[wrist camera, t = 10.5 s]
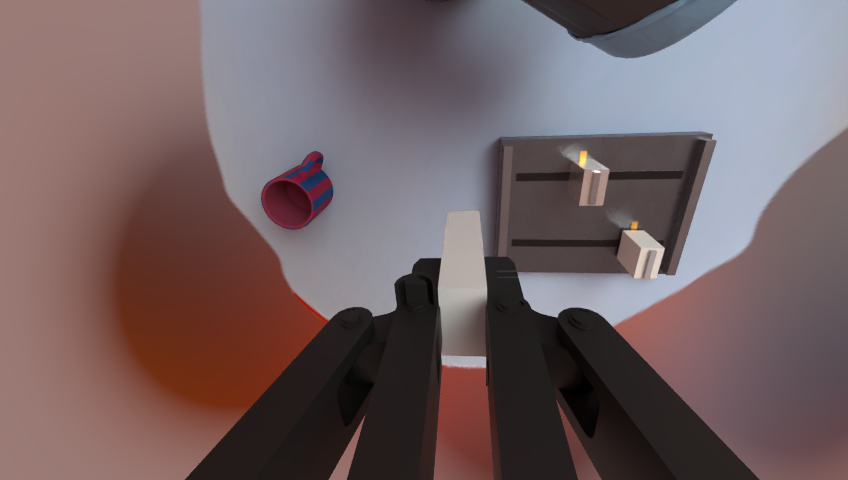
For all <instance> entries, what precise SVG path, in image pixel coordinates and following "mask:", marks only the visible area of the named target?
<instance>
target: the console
mask: <svg viewBox="0 0 848 480" xmlns="http://www.w3.org/2000/svg"><path fill="white" fill-rule="evenodd" d="M712 136H713V134H710V133H706V132H670V133H636V134H601V135H567V136H533V137H500V151H499V171H498V192H497V213H496V233H495V254H494V257H509V258H510V259H511V260H512V261H513V262H514V263H515V266H516V270H517V272H573V273H629V272H628V271H627V270H626V269H625V267H624V266H623V265H622V264H621V263H620V262H619V260H618V259H617V255H618V250H619V246H620V241H621V237H622V232H623V230H644V231H645V232H646V233H648V234H649V235H650V236H651V237H652V238H653V239H655V240H656V241H657V242H658V243H659V244H660V245H662V246H663V247H664V248H665V250H664V253H663V257H662V260H661V264H660V267H659V271H658V274H666V275H675V273H676V270H677V267H678V264H679V260H680V257H681V254H682V251H683V248H684V244H685V241H686V238H687V235H688V231H689V228H690V225H691V222H692V219H693V215H694V212H695V209H696V206H697V203H698V199H699V196H700V193H701V190H702V186H703V183H704V180H705V177H706V174H707V170H708V167H709V164H710V161H711V158H712V154H713V151H714V148H715V145H716V140H712Z"/></svg>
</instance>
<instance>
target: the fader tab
mask: <svg viewBox="0 0 848 480" xmlns="http://www.w3.org/2000/svg"><path fill="white" fill-rule="evenodd" d="M664 250H665V248H664V247H663V246H662V245H660V244H659V243H658V242H657V241H656V240H655V239H653V238H652V237H651V236H650V235H649V234H648V233H646V232H645V231H644V230H623V232H622V237H621V241H620V246H619V250H618V255H617V259H618V260H619V262H620V263H621V264H622V265H623V266H624V267H625V269H626V270H627V271H628V272H629V273H630V275H631V276H632V277H633V278H644V279H656V278H657V274H658V271H659V267H660V264H661V260H662V257H663V253H664Z"/></svg>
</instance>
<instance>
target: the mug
mask: <svg viewBox="0 0 848 480" xmlns="http://www.w3.org/2000/svg"><path fill="white" fill-rule="evenodd" d="M322 163H323V155H322V154H321V153H320V152H317V151H314V152H312V153H310V154H309V155H308V156H307V157H306V158H305V159H304V161H303V163H302V165H299V166H297V167H295V168H293V169H291V170H289V171H287V172H286V173H284V174H282V175H280V176H278V177H276V178H274V179H273V180H271V181H269V182H268V183H267V184H266V185H265V186H264V188H263V191H262V195H261V201H262V206H263V208H264V211H265V212H266V214H267V215H268V217H269V218H270V219H271V220H272V221H273V222H274V223H276V224H277V225H279V226H281V227H283V228H287V229H300V228H303V227H305V226H306V225H308V224H309V223H310V222H311V221H312V220H313V219H314V218H315V217H316V216H317V215H318V214H319V213H320V212H321V211H322V210H323V209H325V208H326V207H327V206H328V205H329V203H330V202H331V200H332V197H333V187H332V184H331V181H330V179H329V178H328V176H327V175H326V174H325V173H324V172H323V171H322V170H321V166H322ZM312 164H313V166H312Z"/></svg>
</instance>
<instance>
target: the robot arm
mask: <svg viewBox="0 0 848 480" xmlns="http://www.w3.org/2000/svg"><path fill="white" fill-rule="evenodd" d="M427 1H447V0H427ZM522 1H523V2H525V3H527V4H528V5H530V6H531V7H533V8H534V9H536V10H538V11H539V12H541V13H542V14H544V15H545V16H547V17H549V18H550V19H552V20H553V21H555V22H556V23H558V24H560V25H561V26H563V27H564V28H566V29H567V31H568V33H569V34H570V36H571V37H573V38H574V39H576V40H578V41H582V42H584V43H590V44H592V45H594V46H595V47H597V48H599V49H601V50H602V51H604V52H606V53H608V54H610V55H612V56H615V57H621V58H638V57H642V56H646V55H649V54H653V53H655V52H658V51H660V50H662V49H665V48H667V47H669V46H671V45H673V44H675V43H677V42H678V41H680V40H682V39H684V38H685V37H687V36H689V35H690V34H692V33H693V32H695V31H696V30H698V29H700V28H701V27H703V26H704V25H705V24H707V23H708V22H710V21H711V20H712V19H714V18H715V17H716V16H718V15H719V14H721V13H722V12H723V11H724V10H726V9H727V8H728V7H729V6H731V5H732V4H733V3H734V2H736V1H737V0H522ZM394 286H395V294H396V301H397V308H396V310H395V311H393V312H391V313H388V314H384V315H380V316H375V317H372V313H371V312H370V311H369V310H368V309H365V308H362V307H352V308H347V309H345V310H342V311H340V312H338V313H337V314H336V315H335V316H333V317H332V319H331V320H330V321H329V322H328V323H327V324H326V325H325V326H324V327H323V328H322V330H321V331H320V332H319V333H318V334H317V335H316V336H315V337H314V339H312V341H311V342H310V343H309V344H308V345H307V346H306V347H305V348H304V349H303V351H302V352H301V353H300V354H299V355H298V356H297V357H296V358H295V359H294V360H293V361H292V363H291V364H290V365H289V366H288V367H287V368H286V369H285V370H284V371H283V373H282V374H281V375H280V376H279V377H278V378H277V379H276V380H275V381H274V382H273V383H272V385H271V386H270V387H269V388H268V389H267V390H266V391H265V392H264V393H263V394H262V396H261V397H260V398H259V399H258V400H257V401H256V402H255V403H254V404H253V406H251V408H250V409H249V410H248V411H247V412H246V413H245V414H244V415H243V416H242V417H241V419H240V420H239V421H238V422H237V423H236V424H235V425H234V426H233V428H231V430H230V431H229V432H228V433H227V434H226V435H225V436H224V437H223V438H222V439H221V441H220V442H219V443H218V444H217V445H216V446H215V447H214V448H213V449H212V450H211V452H210V453H209V454H208V455H207V456H206V457H205V458H204V459H203V460H202V461H201V463H200V464H199V465H198V466H197V467H196V468H195V469H194V470H193V471H192V472H191V474H190V475H189V476H188V477H187V478H186V479H185V480H329V478H330V476H331V474H332V473H333V471H334V469H335V467H336V465H337V464H338V462H339V460H340V458H341V456H342V455H343V453H344V451H345V449H346V448H347V446H348V444H349V442H350V441H351V439H352V437H353V435H354V433H355V432H356V430H357V428H358V426H359V425H360V423H361V421H362V419H363V418H364V416H365V419H364V422H363V425H362V429H361V432H360V436H359V440H358V443H357V446H356V450H355V453H354V457H353V460H352V464H351V467H350V470H349V474H348V477H347V480H433V478H434V477H433V476H434V465H435V452H436V439H437V425H438V412H439V399H440V386H441V373H442V361H441V352H442V355H449V356H486V386H488V401H489V414H490V415H489V416H490V430H491V445H492V461H493V476H494V480H578V478H577V474H576V471H575V467H574V463H573V460H572V456H571V452H570V449H569V445H568V441H567V438H566V434H565V430H564V427H563V423H562V419H561V416H560V412H559V409H558V405H557V401H558V403H559V405H560V407H561V408H562V410H563V412H564V414H565V415H566V417H567V419H568V420H569V422H570V424H571V426H572V428H573V429H574V431H575V433H576V435H577V437H578V438H579V440H580V442H581V443H582V445H583V447H584V449H585V451H586V452H587V454H588V456H589V458H590V460H591V461H592V463H593V465H594V467H595V468H596V470H597V472H598V473H599V475H600V477H601V479H602V480H759V479H758V478H757V477H756V475H755V474H754V473H753V472H752V471H751V470H750V469H749V468H748V467H747V466H746V465H745V464H744V463H743V462H742V461H741V460H740V459H739V458H738V457H737V456H736V455H735V454H734V453H733V452H732V451H731V449H729V447H727V445H726V444H725V443H724V442H723V441H722V440H721V439H720V438H719V437H718V436H717V435H716V434H715V433H714V432H713V431H712V430H711V429H710V428H709V427H708V426H707V425H706V423H705V422H704V421H703V420H702V419H701V418H700V417H699V416H698V415H697V414H696V413H695V412H694V411H693V410H692V409H691V408H690V407H689V406H688V405H687V404H686V403H685V402H684V401H683V400H682V399H681V397H680V396H678V394H677V393H676V392H674V390H673V389H672V388H671V387H670V386H669V385H668V384H667V383H666V382H665V381H664V380H663V379H662V378H661V377H660V376H659V375H658V374H657V373H656V372H655V370H654V369H653V368H652V367H651V366H650V365H649V364H648V363H647V362H646V361H645V360H644V359H643V358H642V357H641V356H640V355H639V354H638V353H637V352H636V351H635V350H634V349H633V348H632V347H631V346H630V345H629V344H628V342H627V341H626V340H625V339H624V338H623V337H622V336H621V335H620V334H619V333H618V332H617V331H616V330H615V329H614V328H613V327H612V326H611V325H610V324H609V323H608V322H607V321H606V320H605V318H603V317H602V316H601V315H599V314H598V313H596V312H593V311H591V310H589V309H584V308H568V309H565V310H563V311H562V312H560V313H559V316H558V318H556V317H552V316H547V315H544V314H540V313H538V312H536V311H534V310H532V309H531V306H530V305H529V303H528V302H527V301H526V300H525V299H524V297H523V293H522V290H521V286H520V282H519V278H518V274H517V270H516V266H515V263H514V262H513V261H512V260H511V259H510V258H509V257H484V252H483V243H482V233H481V223H480V213H479V211H448V213H447V220H446V228H445V236H444V244H443V251H442V258H420V259H419V260H418V261H417V262H416V263H415V264H414V266H413V269H412V273H411V274H408V275H405V276H402V277H401V278H399V279H398V280H397V281H396V282H395V284H394ZM556 400H557V401H556ZM365 414H366V415H365Z"/></svg>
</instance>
